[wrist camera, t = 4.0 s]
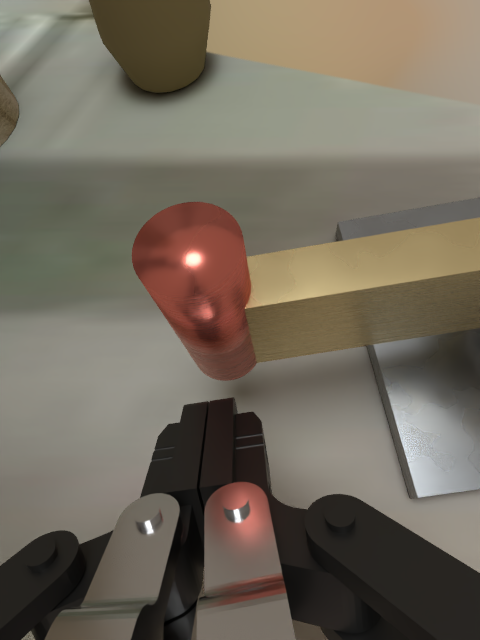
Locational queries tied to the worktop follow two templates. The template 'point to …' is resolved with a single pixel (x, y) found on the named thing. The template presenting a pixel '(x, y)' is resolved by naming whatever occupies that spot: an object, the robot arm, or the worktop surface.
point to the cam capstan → (303, 288)
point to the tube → (7, 111)
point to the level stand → (429, 378)
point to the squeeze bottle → (155, 39)
